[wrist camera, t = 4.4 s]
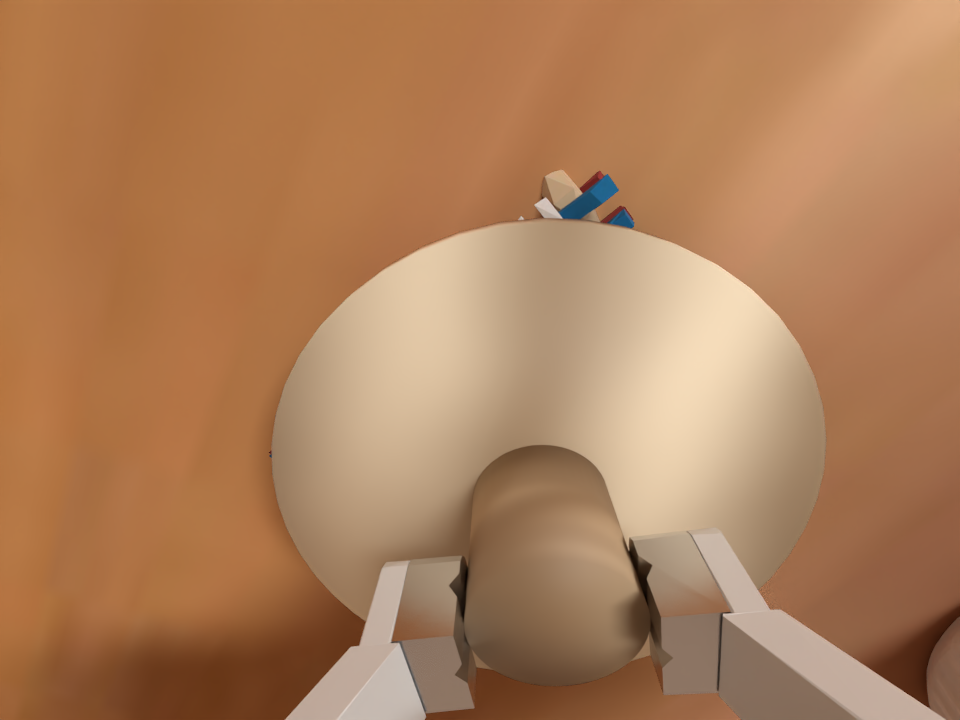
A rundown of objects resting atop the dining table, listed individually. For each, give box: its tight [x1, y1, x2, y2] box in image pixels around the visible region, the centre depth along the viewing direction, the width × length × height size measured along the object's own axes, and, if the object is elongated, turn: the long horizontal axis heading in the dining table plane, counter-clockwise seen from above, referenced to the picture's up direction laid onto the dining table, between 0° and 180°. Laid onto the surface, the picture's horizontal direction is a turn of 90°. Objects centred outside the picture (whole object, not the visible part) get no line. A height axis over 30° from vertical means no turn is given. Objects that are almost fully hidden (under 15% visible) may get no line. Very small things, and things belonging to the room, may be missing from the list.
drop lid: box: [272, 218, 826, 686], centre depth 9 cm, size 12×12×4 cm
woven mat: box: [269, 170, 634, 458], centre depth 12 cm, size 10×11×2 cm
